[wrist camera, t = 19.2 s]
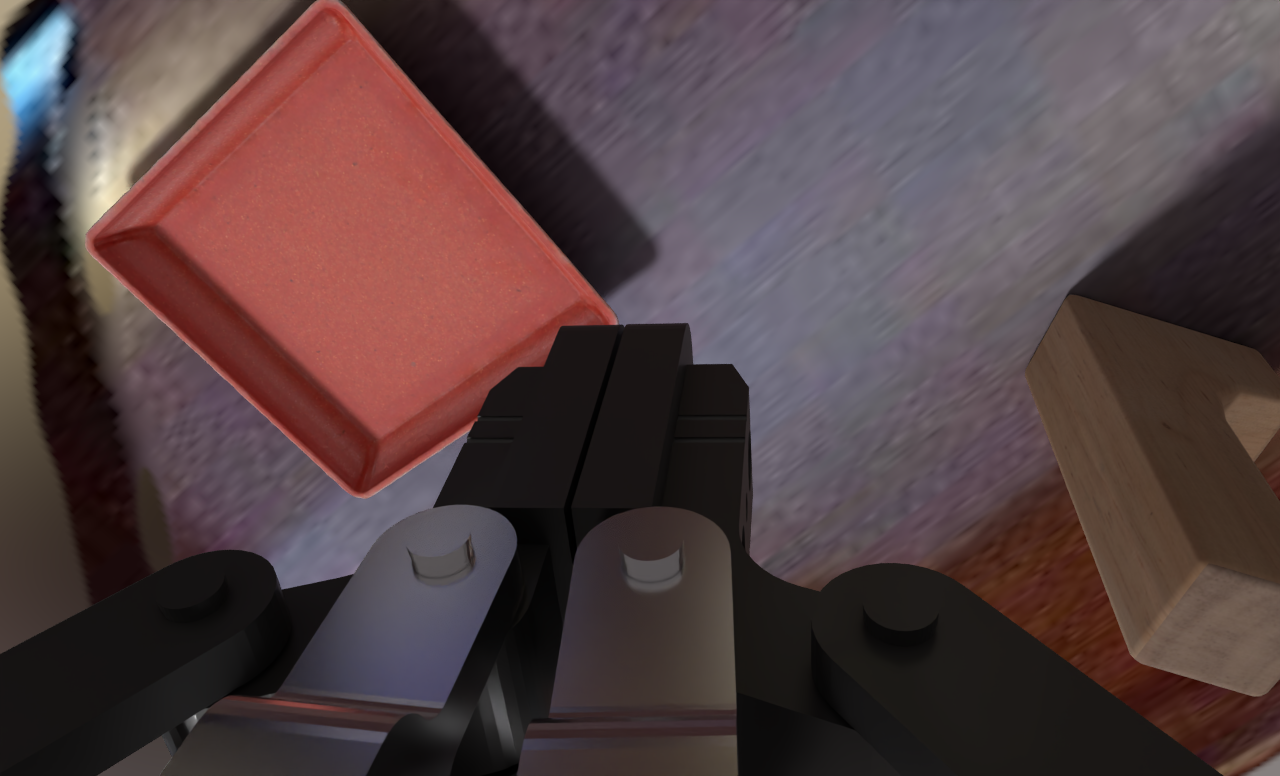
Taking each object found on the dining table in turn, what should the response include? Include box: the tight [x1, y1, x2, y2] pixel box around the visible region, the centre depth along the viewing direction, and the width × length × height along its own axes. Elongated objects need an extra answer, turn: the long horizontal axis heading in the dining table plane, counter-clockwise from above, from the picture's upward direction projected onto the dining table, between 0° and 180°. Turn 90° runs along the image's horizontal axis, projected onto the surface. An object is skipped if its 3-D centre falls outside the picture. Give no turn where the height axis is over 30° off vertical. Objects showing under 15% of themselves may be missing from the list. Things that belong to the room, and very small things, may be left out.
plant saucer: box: [85, 0, 619, 499], centre depth 47 cm, size 18×18×3 cm
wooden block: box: [1025, 295, 1280, 696], centre depth 38 cm, size 9×4×18 cm, turn 75°
